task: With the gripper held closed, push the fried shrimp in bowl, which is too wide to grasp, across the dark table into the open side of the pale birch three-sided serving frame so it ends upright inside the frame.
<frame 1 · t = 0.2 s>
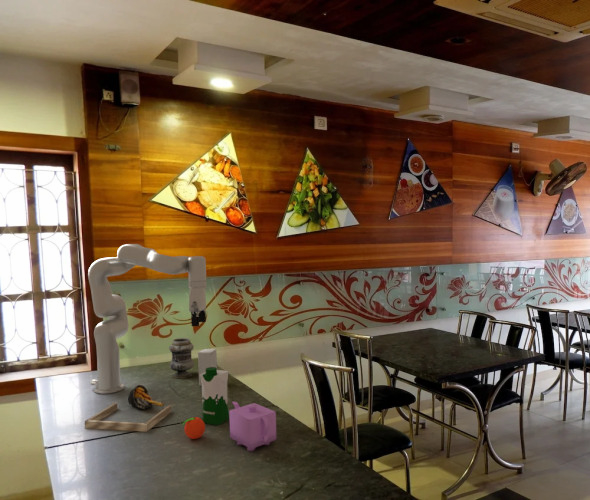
hand: (198, 324, 207), 31 cm above the table, tool pointing down, fingers open, 9 cm apart
fried shrimp in bowl: (146, 408, 192), on the table
apothecary jar: (182, 376, 237), on the table
serving frame: (130, 419, 180), on the table
milk carton: (216, 421, 177), on the table
skincare box: (208, 384, 223), on the table
clementine: (193, 439, 161), on the table
teapot: (250, 442, 157), on the table
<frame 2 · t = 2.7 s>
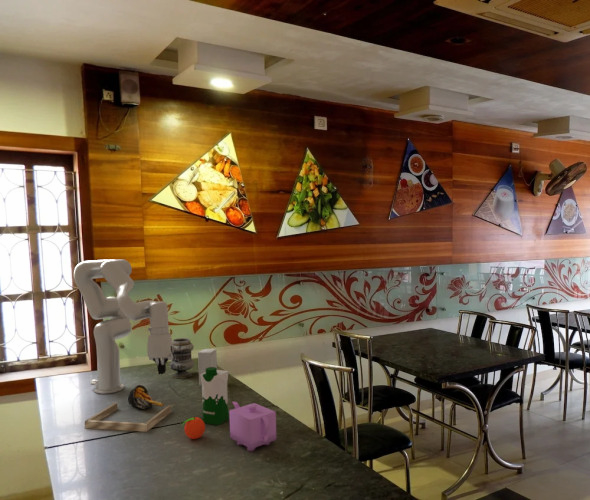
hand: (162, 373, 204), 10 cm above the table, tool pointing down, fingers closed
nothing on the table moved.
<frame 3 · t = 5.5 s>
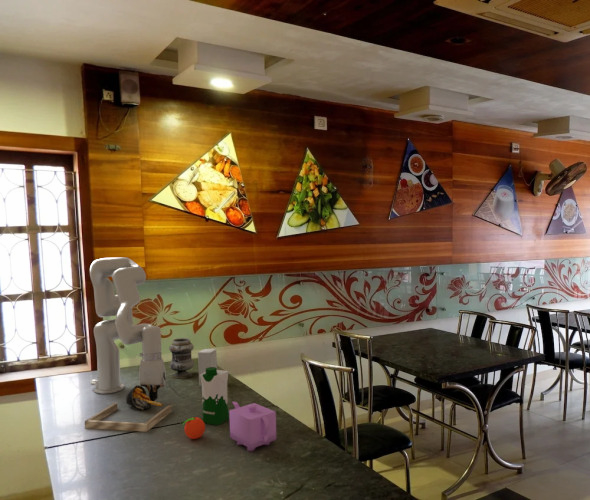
hand: (153, 400, 198), 1 cm above the table, tool pointing down, fingers closed
fried shrimp in bowl: (144, 409, 191), on the table, touching gripper
everything else where it was.
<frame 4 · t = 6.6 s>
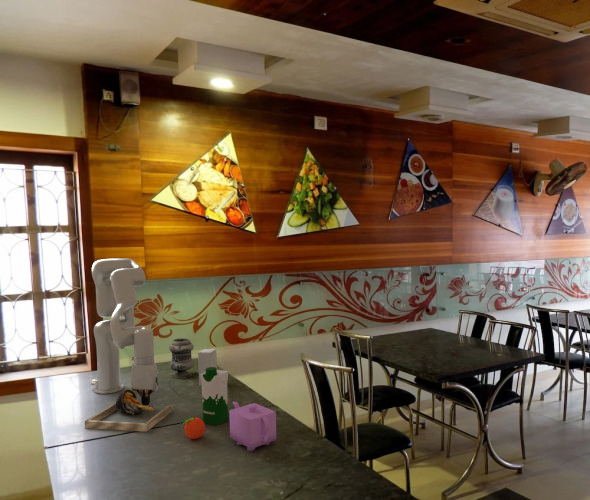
hand: (145, 405, 192), 1 cm above the table, tool pointing down, fingers closed
fried shrimp in bowl: (135, 413, 186), on the table, touching gripper
everything else where it was.
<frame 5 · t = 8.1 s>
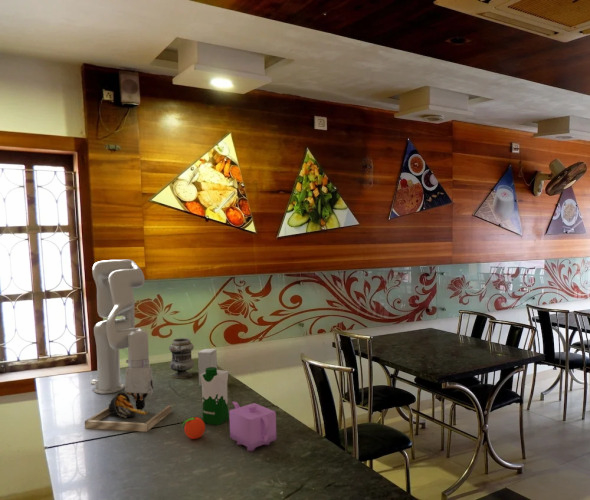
hand: (140, 409, 187), 1 cm above the table, tool pointing down, fingers closed
fried shrimp in bowl: (128, 417, 183), on the table
everything else where it was.
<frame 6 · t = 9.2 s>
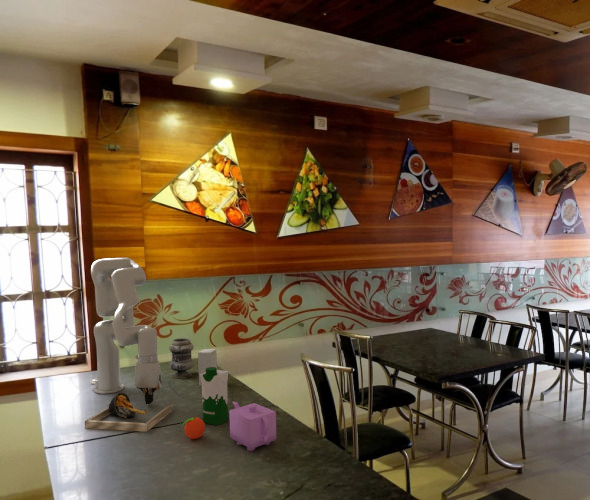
hand: (149, 403, 195), 1 cm above the table, tool pointing down, fingers closed
nothing on the table moved.
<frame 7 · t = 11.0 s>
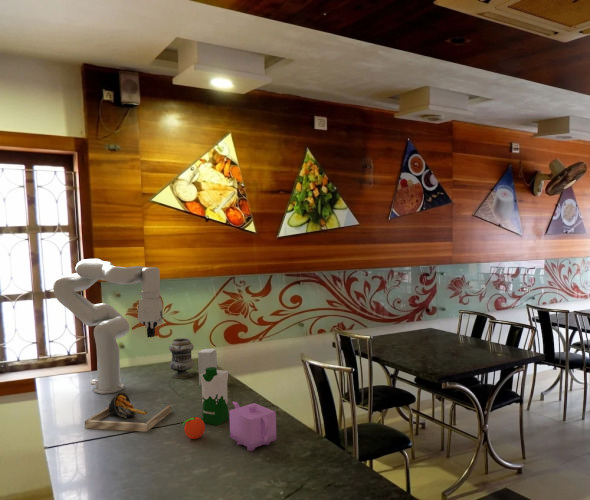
hand: (150, 336, 211), 25 cm above the table, tool pointing down, fingers closed
nothing on the table moved.
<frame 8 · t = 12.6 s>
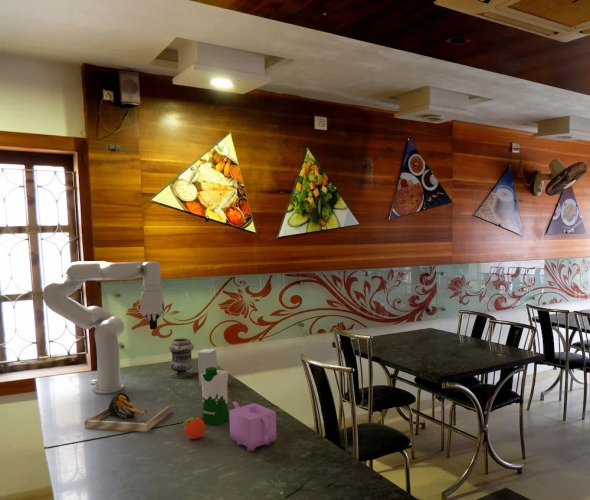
hand: (153, 328, 218), 27 cm above the table, tool pointing down, fingers closed
nothing on the table moved.
at the end: fried shrimp in bowl inside the target area on the serving frame (3.6 cm from its centre), point 0.0 cm above the serving frame's base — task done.
